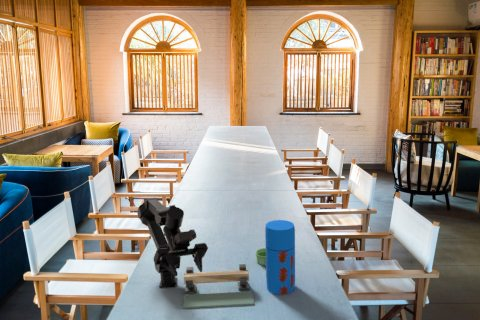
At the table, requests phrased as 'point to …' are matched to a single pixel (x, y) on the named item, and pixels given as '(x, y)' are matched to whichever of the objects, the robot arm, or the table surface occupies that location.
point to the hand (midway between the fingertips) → (189, 273)
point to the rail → (216, 276)
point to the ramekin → (261, 256)
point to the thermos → (280, 256)
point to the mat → (218, 299)
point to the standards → (192, 287)
